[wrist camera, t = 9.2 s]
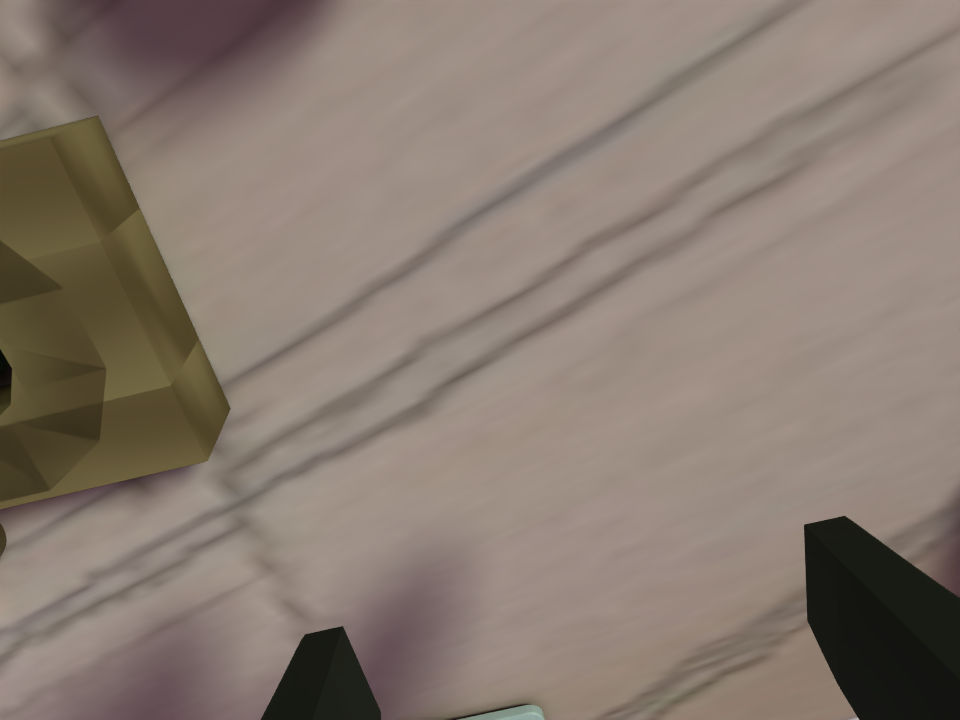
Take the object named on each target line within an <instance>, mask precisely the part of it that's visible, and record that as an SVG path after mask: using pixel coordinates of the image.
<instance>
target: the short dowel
mask: <svg viewBox="0 0 960 720" xmlns="http://www.w3.org/2000/svg"><path fill="white" fill-rule="evenodd" d="M5 546H6V534H5V531H4V529H3V527H2V525H1V524H0V555H1V554H2V553H3V551H4V549H5Z"/></svg>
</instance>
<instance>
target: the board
mask: <svg viewBox="0 0 960 720" xmlns="http://www.w3.org/2000/svg"><path fill="white" fill-rule="evenodd" d="M0 349H1V351H2V352H3V354H4V356H5V358H6V359H7V361H8V363H9V364H10V366H11V368H12V384H9V385H5V386H0V509H4V508H8V507H12V506H17V505H21V504H25V503H29V502H34V501H38V500H42V499H47V498H51V497H55V496H60V495H64V494H68V493H72V492H77V491H81V490H85V489H90V488H94V487H98V486H103V485H107V484H111V483H115V482H120V481H124V480H128V479H133V478H137V477H141V476H146V475H150V474H154V473H158V472H163V471H167V470H171V469H176V468H180V467H184V466H189V465H193V464H197V463H202V462H206V461H208V459H209V457H210V454H211V452H212V450H213V448H214V445H215V443H216V441H217V438H218V436H219V434H220V432H221V429H222V427H223V425H224V422H225V420H226V418H227V416H228V413H229V411H230V406H229V404H228V402H227V400H226V398H225V395H224V393H223V391H222V389H221V386H220V384H219V382H218V380H217V378H216V375H215V373H214V371H213V369H212V367H211V364H210V362H209V360H208V358H207V356H206V353H205V351H204V349H203V347H202V345H201V342H200V340H199V338H198V336H197V333H196V331H195V329H194V327H193V325H192V322H191V320H190V318H189V316H188V314H187V311H186V309H185V307H184V305H183V303H182V300H181V298H180V296H179V294H178V292H177V289H176V287H175V285H174V283H173V280H172V278H171V276H170V274H169V272H168V269H167V267H166V265H165V263H164V261H163V258H162V256H161V254H160V252H159V250H158V247H157V245H156V243H155V241H154V238H153V236H152V234H151V232H150V230H149V227H148V225H147V223H146V221H145V219H144V216H143V214H142V212H141V210H140V208H139V205H138V203H137V201H136V199H135V197H134V194H133V192H132V190H131V188H130V185H129V183H128V181H127V179H126V177H125V174H124V172H123V170H122V168H121V166H120V163H119V161H118V159H117V157H116V155H115V152H114V150H113V148H112V146H111V144H110V141H109V139H108V137H107V135H106V132H105V130H104V128H103V126H102V124H101V121H100V119H99V117H98V116H95V117H91V118H87V119H83V120H80V121H76V122H72V123H68V124H64V125H60V126H56V127H52V128H48V129H44V130H41V131H37V132H33V133H29V134H25V135H21V136H17V137H13V138H9V139H5V140H2V141H0Z"/></svg>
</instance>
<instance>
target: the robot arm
mask: <svg viewBox="0 0 960 720" xmlns="http://www.w3.org/2000/svg"><path fill="white" fill-rule="evenodd" d="M804 536H805V564H806V592H807V620H808V623H809V625H810V627H811V629H812V631H813V633H814V636H815V638H816V640H817V642H818V644H819V646H820V648H821V651H822V653H823V655H824V657H825V659H826V661H827V663H828V665H829V667H830V669H831V671H832V673H833V675H834V677H835V679H836V682H837V684H838V685H839V687H840V689H841V690H842V692H843V694H844V695H845V697H846V699H847V700H848V702H849V704H850V705H851V707H852V708H853V710H854V712H855V713H856V715H857V717H858V718H859V720H960V598H959V597H958V596H956V595H955V594H953V593H952V592H950V591H949V590H948V589H946V588H945V587H943V586H942V585H940V584H939V583H937V582H936V581H935V580H933V579H932V578H930V577H929V576H927V575H926V574H925V573H923V572H922V571H920V570H919V569H918V568H916V567H915V566H913V565H912V564H911V563H909V562H908V561H906V560H905V559H904V558H902V557H901V556H900V555H898V554H897V553H895V552H894V551H893V550H891V549H890V548H889V547H887V546H886V545H884V544H883V543H882V542H880V541H879V540H878V539H876V538H875V537H874V536H872V535H871V534H869V533H868V532H867V531H865V530H864V529H863V528H861V527H860V526H859V525H857V524H856V523H854V522H853V521H852V520H850V519H849V518H847V517H845V516H842V517H837V518H833V519H828V520H824V521H819V522H815V523H810V524H805V525H804ZM261 720H381V712H380V709H379V707H378V705H377V702H376V700H375V698H374V696H373V693H372V691H371V689H370V687H369V684H368V682H367V680H366V677H365V675H364V673H363V671H362V668H361V666H360V664H359V662H358V659H357V657H356V655H355V652H354V650H353V648H352V646H351V643H350V641H349V639H348V637H347V634H346V632H345V630H344V628H343V626H341V627H337V628H332V629H328V630H323V631H319V632H314V633H310V634H305V636H304V637H303V639H302V640H301V642H300V644H299V646H298V647H297V649H296V651H295V653H294V655H293V657H292V659H291V661H290V663H289V665H288V667H287V669H286V671H285V673H284V675H283V677H282V679H281V681H280V683H279V685H278V687H277V689H276V691H275V693H274V695H273V697H272V699H271V701H270V703H269V705H268V707H267V709H266V711H265V713H264V714H263V716H262V718H261ZM458 720H545V718H544V714H543V711H542V710H541V708H539V707H538V706H536V705H524V706H519V707H514V708H510V709H505V710H500V711H496V712H491V713H486V714H481V715H477V716H472V717H467V718H463V719H458Z"/></svg>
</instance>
